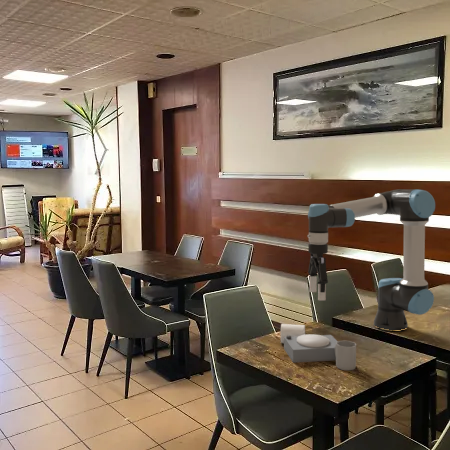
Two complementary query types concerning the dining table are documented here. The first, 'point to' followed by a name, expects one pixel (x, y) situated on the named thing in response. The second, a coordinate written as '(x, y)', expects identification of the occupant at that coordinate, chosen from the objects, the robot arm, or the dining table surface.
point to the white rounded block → (291, 330)
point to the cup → (345, 355)
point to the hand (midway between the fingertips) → (317, 296)
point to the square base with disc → (310, 348)
